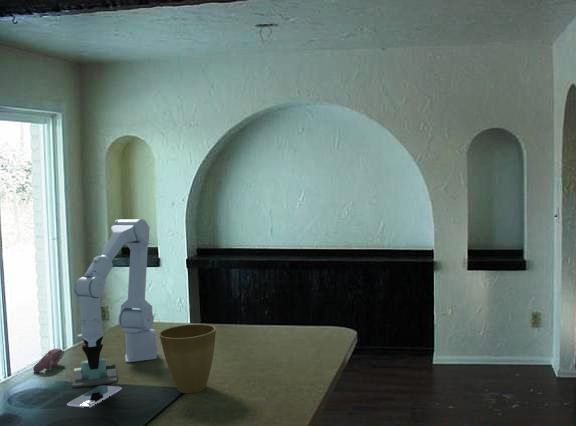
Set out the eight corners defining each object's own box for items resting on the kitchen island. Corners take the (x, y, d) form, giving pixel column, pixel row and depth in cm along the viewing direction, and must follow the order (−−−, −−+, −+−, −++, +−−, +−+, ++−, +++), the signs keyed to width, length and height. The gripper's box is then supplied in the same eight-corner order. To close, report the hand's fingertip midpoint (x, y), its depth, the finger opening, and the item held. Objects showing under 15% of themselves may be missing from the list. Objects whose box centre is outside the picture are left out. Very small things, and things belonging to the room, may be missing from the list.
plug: (115, 372, 194) (114, 356, 193) (116, 376, 190) (115, 360, 190) (74, 377, 191) (73, 361, 190) (74, 381, 187) (73, 365, 186)
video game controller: (43, 378, 198) (51, 358, 197) (30, 371, 199) (38, 351, 198) (61, 368, 208) (69, 348, 207) (48, 361, 208) (56, 342, 207)
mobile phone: (123, 386, 181) (89, 405, 167) (123, 389, 181) (89, 409, 167) (100, 384, 183) (64, 403, 169) (100, 387, 183) (64, 406, 169)
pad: (116, 369, 198) (116, 368, 198) (117, 382, 186) (116, 380, 186) (74, 375, 194) (74, 373, 194) (72, 387, 183) (72, 385, 183)
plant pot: (211, 376, 187) (208, 321, 186) (225, 392, 173) (221, 332, 172) (158, 385, 182) (155, 327, 181) (168, 402, 168) (164, 340, 167)
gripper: (77, 314, 195) (80, 359, 196) (75, 325, 181) (79, 374, 182) (102, 312, 197) (105, 356, 198) (102, 323, 183) (105, 371, 184)
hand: (94, 365), depth 190 cm, fingers open, 7 cm apart
